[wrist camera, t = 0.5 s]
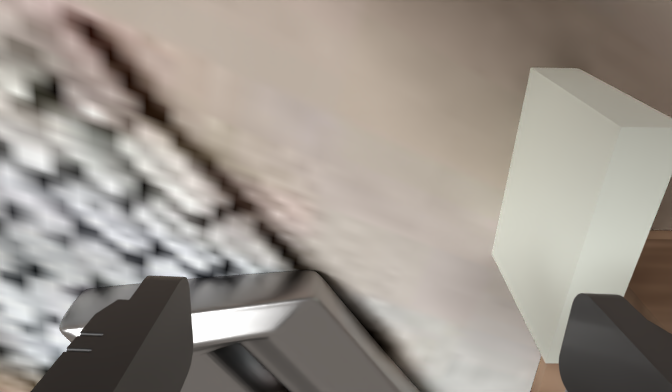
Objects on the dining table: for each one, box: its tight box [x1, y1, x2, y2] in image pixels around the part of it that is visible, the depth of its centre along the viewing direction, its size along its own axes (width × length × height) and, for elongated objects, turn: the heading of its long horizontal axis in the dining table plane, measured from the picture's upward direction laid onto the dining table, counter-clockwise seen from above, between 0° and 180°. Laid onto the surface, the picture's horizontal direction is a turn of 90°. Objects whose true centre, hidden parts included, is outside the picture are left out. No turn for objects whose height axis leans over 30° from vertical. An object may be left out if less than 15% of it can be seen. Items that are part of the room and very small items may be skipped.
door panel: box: [492, 68, 672, 363], centre depth 24 cm, size 12×3×9 cm, turn 179°
